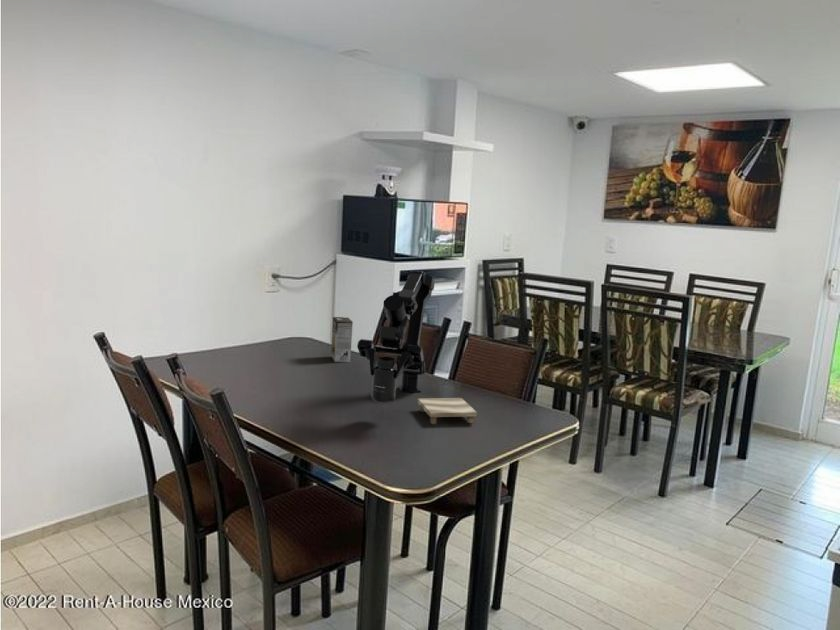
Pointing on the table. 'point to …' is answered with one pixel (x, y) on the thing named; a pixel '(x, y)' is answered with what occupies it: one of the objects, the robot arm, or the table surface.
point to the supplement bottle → (384, 380)
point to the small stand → (446, 408)
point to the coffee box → (341, 339)
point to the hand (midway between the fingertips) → (383, 376)
